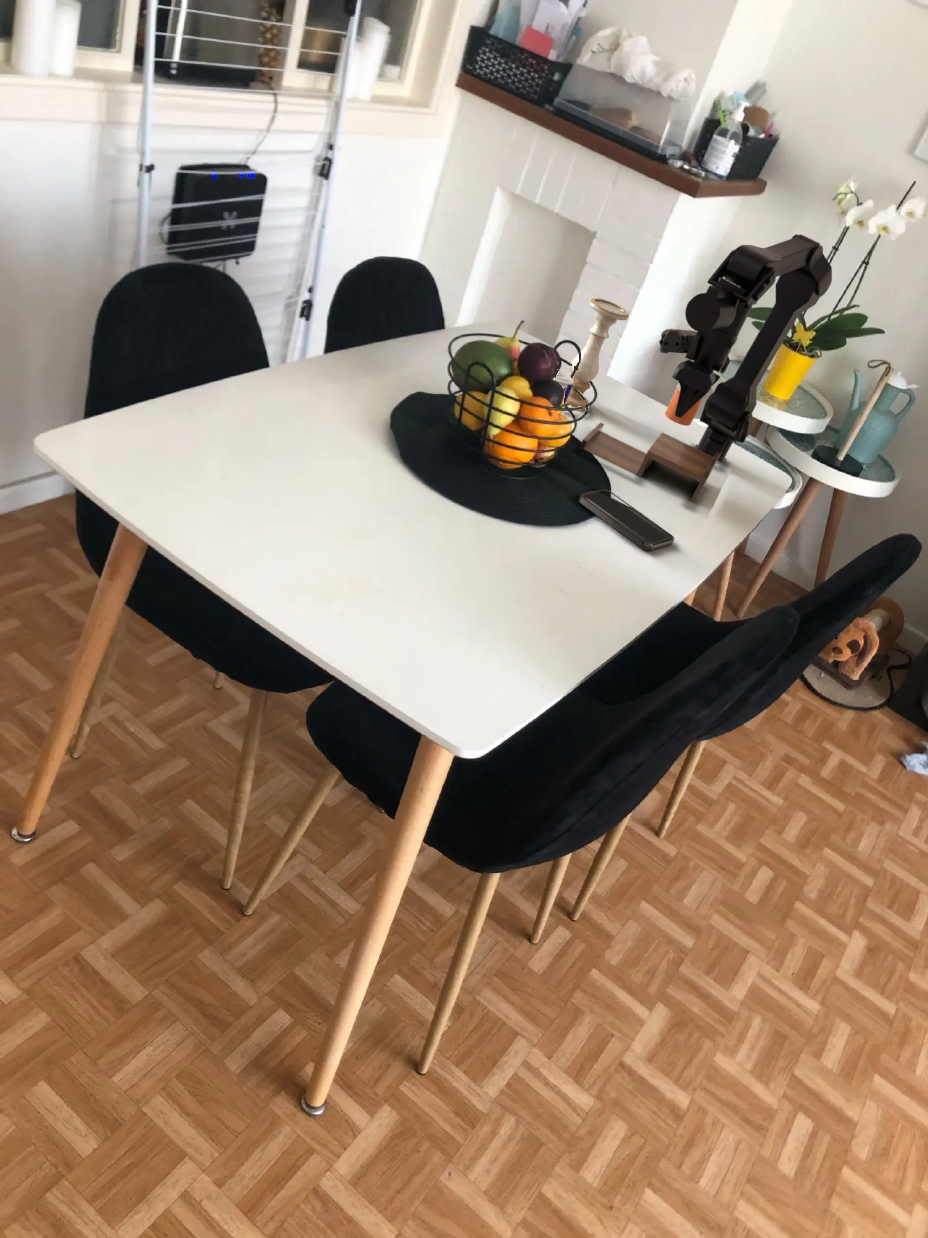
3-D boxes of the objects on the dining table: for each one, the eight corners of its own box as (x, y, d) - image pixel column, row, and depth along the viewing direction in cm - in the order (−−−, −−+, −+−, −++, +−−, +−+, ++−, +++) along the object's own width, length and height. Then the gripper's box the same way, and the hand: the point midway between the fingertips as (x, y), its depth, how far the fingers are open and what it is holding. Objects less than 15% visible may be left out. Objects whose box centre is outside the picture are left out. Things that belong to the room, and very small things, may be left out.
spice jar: (667, 408, 176) (682, 377, 172) (693, 421, 175) (709, 390, 171) (661, 415, 171) (676, 383, 168) (687, 428, 171) (703, 396, 167)
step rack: (594, 435, 186) (610, 400, 182) (703, 487, 182) (721, 453, 179) (576, 452, 176) (592, 416, 172) (691, 509, 172) (710, 472, 169)
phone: (650, 546, 152) (578, 493, 159) (647, 552, 152) (576, 499, 159) (677, 538, 157) (607, 488, 164) (674, 544, 158) (604, 494, 165)
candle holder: (541, 402, 191) (582, 300, 180) (554, 391, 198) (594, 292, 187) (583, 421, 190) (626, 320, 179) (594, 410, 197) (637, 312, 186)
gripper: (688, 298, 173) (650, 381, 182) (665, 315, 158) (625, 405, 166) (748, 325, 171) (707, 408, 180) (730, 345, 156) (686, 434, 164)
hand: (680, 412), depth 172 cm, fingers closed on spice jar, 5 cm apart
